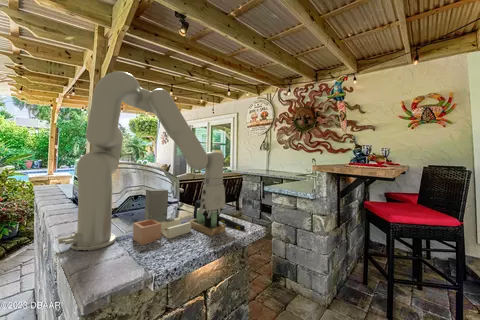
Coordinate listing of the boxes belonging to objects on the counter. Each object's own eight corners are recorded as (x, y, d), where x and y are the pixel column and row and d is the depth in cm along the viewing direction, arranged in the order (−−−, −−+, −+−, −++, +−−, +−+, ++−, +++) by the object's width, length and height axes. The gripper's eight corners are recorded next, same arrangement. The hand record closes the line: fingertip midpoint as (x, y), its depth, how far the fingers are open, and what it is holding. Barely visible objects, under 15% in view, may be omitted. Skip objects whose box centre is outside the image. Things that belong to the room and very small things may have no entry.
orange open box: (141, 245, 70) (142, 228, 70) (132, 239, 74) (133, 222, 74) (160, 239, 75) (161, 223, 75) (151, 234, 80) (152, 218, 80)
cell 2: (211, 230, 82) (212, 210, 81) (204, 227, 84) (205, 208, 84) (218, 227, 85) (219, 208, 84) (212, 225, 87) (212, 206, 87)
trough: (210, 237, 79) (211, 230, 79) (187, 227, 89) (187, 220, 89) (225, 232, 85) (225, 225, 85) (202, 223, 95) (202, 217, 95)
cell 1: (200, 228, 86) (201, 209, 86) (194, 225, 89) (195, 208, 89) (207, 226, 89) (208, 208, 89) (201, 223, 92) (202, 206, 92)
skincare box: (148, 228, 85) (149, 191, 85) (143, 223, 91) (144, 188, 90) (168, 224, 91) (169, 189, 91) (162, 220, 96) (163, 187, 96)
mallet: (247, 230, 89) (248, 209, 89) (240, 234, 84) (241, 211, 84) (199, 216, 105) (200, 198, 105) (190, 219, 100) (191, 200, 100)
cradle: (168, 240, 74) (168, 227, 74) (156, 233, 81) (156, 221, 80) (190, 233, 82) (191, 221, 82) (178, 227, 88) (178, 216, 88)
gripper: (203, 184, 75) (201, 233, 76) (233, 181, 88) (231, 223, 88) (191, 181, 80) (189, 227, 80) (221, 179, 93) (219, 219, 93)
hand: (211, 224), depth 84 cm, fingers closed on cell 2, 3 cm apart
